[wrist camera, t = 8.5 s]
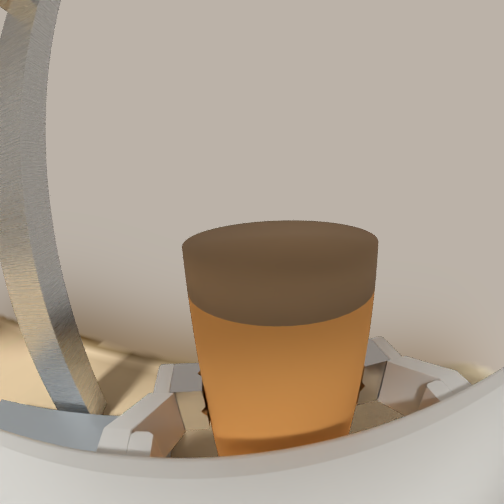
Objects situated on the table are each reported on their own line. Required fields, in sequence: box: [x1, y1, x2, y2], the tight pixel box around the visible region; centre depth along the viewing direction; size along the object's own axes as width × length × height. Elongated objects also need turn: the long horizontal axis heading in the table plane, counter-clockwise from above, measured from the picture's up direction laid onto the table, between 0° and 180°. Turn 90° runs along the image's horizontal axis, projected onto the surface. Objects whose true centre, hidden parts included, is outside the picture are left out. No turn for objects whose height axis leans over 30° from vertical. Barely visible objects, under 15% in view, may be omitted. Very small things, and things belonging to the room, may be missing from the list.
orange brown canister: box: [182, 221, 378, 456], centre depth 9 cm, size 5×5×12 cm
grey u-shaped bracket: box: [0, 400, 171, 458], centre depth 9 cm, size 15×14×2 cm
